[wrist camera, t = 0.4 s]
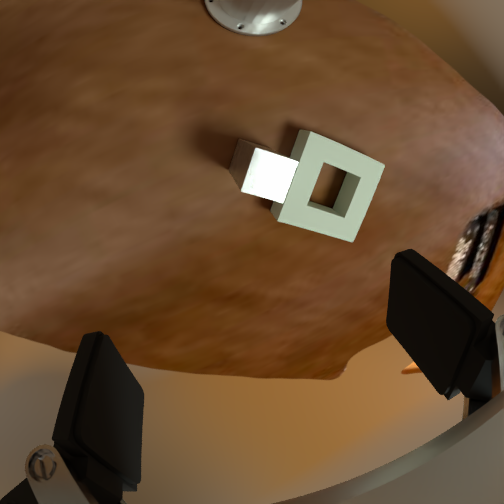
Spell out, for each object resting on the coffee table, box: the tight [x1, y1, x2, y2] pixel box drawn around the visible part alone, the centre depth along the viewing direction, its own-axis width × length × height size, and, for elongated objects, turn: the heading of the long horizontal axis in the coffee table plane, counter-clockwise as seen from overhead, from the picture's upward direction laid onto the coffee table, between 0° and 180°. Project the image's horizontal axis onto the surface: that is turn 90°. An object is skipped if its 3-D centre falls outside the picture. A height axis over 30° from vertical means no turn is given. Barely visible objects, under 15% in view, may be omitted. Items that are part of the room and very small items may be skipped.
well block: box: [270, 129, 385, 242], centre depth 39 cm, size 12×12×4 cm
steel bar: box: [229, 139, 298, 203], centre depth 33 cm, size 4×4×11 cm
